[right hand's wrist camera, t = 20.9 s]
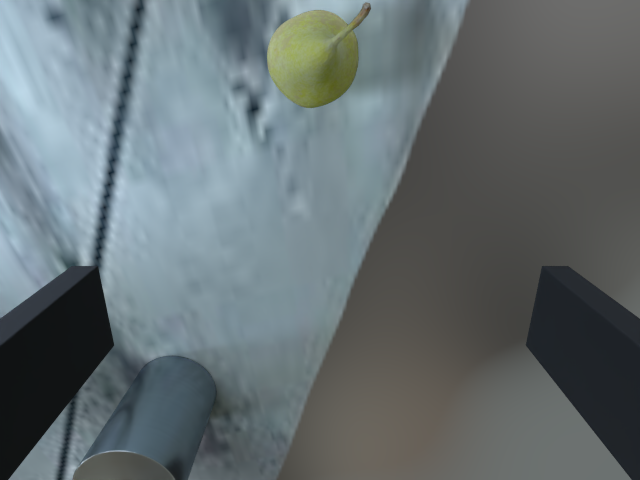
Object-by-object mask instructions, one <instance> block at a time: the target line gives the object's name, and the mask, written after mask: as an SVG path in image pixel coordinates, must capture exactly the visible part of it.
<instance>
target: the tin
mask: <svg viewBox="0 0 640 480" xmlns="http://www.w3.org/2000/svg"><path fill="white" fill-rule="evenodd" d="M215 399H216V386H215V383H214V380H213V378H212V376H211V375H210V374H209V372H208V371H207V370H206V369H205V368H204V367H203V366H201V365H200V364H198V363H197V362H195V361H193V360H190V359H188V358H184V357H180V356H164V357H160V358H156V359H154V360H152V361H150V362H149V363H147V364H146V365H145V366H144V367H143V368H142V369H141V371H140V372H139V374H138V375H137V377H136V378H135V380H134V381H133V383H132V384H131V386H130V388H129V389H128V391H127V392H126V394H125V395H124V397H123V398H122V400H121V401H120V403H119V404H118V406H117V407H116V409H115V411H114V412H113V414H112V415H111V417H110V418H109V420H108V421H107V423H106V424H105V426H104V427H103V429H102V431H101V432H100V434H99V435H98V437H97V438H96V440H95V441H94V443H93V444H92V446H91V447H90V449H89V451H88V452H87V454H86V455H85V457H84V458H83V460H82V461H81V463H80V464H79V466H78V467H77V469H76V471H75V473H74V475H73V479H72V480H188V478H189V475H190V472H191V469H192V466H193V463H194V460H195V457H196V454H197V452H198V449H199V446H200V443H201V440H202V437H203V434H204V431H205V428H206V425H207V422H208V420H209V417H210V414H211V411H212V408H213V405H214V402H215Z"/></svg>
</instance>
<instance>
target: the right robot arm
mask: <svg viewBox="0 0 640 480" xmlns="http://www.w3.org/2000/svg"><path fill="white" fill-rule="evenodd" d="M113 346H114V342H113V337H112V332H111V328H110V323H109V318H108V313H107V308H106V303H105V298H104V294H103V289H102V284H101V279H100V274H99V269H98V266H72V267H70V268H69V269H67V270H66V271H65V272H63V273H62V274H61V275H59V276H58V277H57V278H55V279H54V280H52V281H51V282H50V283H48V284H47V285H46V286H44V287H43V288H42V289H40V290H39V291H37V292H36V293H35V294H33V295H32V296H31V297H29V298H28V299H27V300H25V301H24V302H22V303H21V304H20V305H18V306H17V307H16V308H14V309H13V310H12V311H10V312H9V313H7V314H6V315H5V316H3V317H2V318H1V319H0V480H8V479H9V478H10V477H11V475H12V474H13V473H14V472H15V470H16V469H17V468H18V467H19V465H20V464H21V463H22V461H23V460H24V459H25V458H26V456H27V455H28V454H29V453H30V451H31V450H32V449H33V448H34V446H35V445H36V444H37V442H38V441H39V440H40V439H41V437H42V436H43V435H44V434H45V432H46V431H47V430H48V428H49V427H50V426H51V425H52V423H53V422H54V421H55V420H56V418H57V417H58V416H59V415H60V413H61V412H62V411H63V409H64V408H65V407H66V406H67V404H68V403H69V402H70V401H71V399H72V398H73V397H74V396H75V394H76V393H77V392H78V390H79V389H80V388H81V387H82V385H83V384H84V383H85V382H86V380H87V379H88V378H89V376H90V375H91V374H92V373H93V371H94V370H95V369H96V368H97V366H98V365H99V364H100V363H101V361H102V360H103V359H104V357H105V356H106V355H107V354H108V352H109V351H110V350H111V349H112V347H113ZM526 346H527V347H528V348H529V350H530V351H531V352H532V354H533V355H534V356H535V357H536V359H537V360H538V361H539V363H540V364H541V365H542V366H543V368H544V369H545V370H546V371H547V373H548V374H549V375H550V376H551V378H552V379H553V380H554V382H555V383H556V384H557V385H558V386H559V388H560V389H561V390H562V392H563V393H564V394H565V396H566V397H567V398H568V399H569V401H570V402H571V403H572V404H573V406H574V407H575V408H576V409H577V411H578V412H579V413H580V415H581V416H582V417H583V418H584V420H585V421H586V422H587V423H588V425H589V426H590V427H591V428H592V430H593V431H594V432H595V434H596V435H597V436H598V437H599V439H600V440H601V441H602V442H603V444H604V445H605V446H606V448H607V449H608V450H609V451H610V453H611V454H612V455H613V456H614V458H615V459H616V460H617V461H618V463H619V464H620V465H621V467H622V468H623V469H624V470H625V472H626V473H627V474H628V475H629V477H630V478H631V479H632V480H640V319H639V318H638V317H637V316H635V315H634V314H633V313H631V312H630V311H628V310H627V309H626V308H624V307H623V306H622V305H620V304H619V303H618V302H616V301H615V300H613V299H612V298H611V297H609V296H608V295H607V294H605V293H604V292H602V291H601V290H600V289H598V288H597V287H596V286H594V285H593V284H592V283H590V282H589V281H588V280H586V279H585V278H583V277H582V276H581V275H579V274H578V273H577V272H575V271H574V270H572V269H571V268H570V267H568V266H542V269H541V274H540V279H539V284H538V289H537V294H536V298H535V303H534V308H533V313H532V318H531V323H530V328H529V332H528V337H527V342H526Z"/></svg>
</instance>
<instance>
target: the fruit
mask: <svg viewBox="0 0 640 480" xmlns="http://www.w3.org/2000/svg"><path fill="white" fill-rule="evenodd" d="M370 9H371V7H370V3H364V4H363V7H362V9H361V11H360V13H359V14H358V16H357V17H356V18H355V19H354V20H353V21H352V22H351V23H350V24H349V25H348V24H347V23H346V22H345V21H344V20H343V19H341V18H340V17H339V16H337V15H336V14H334V13H331V12H328V11H324V10H314V11H308V12H305V13H302V14H300V15H297V16H295V17H293V18H291V19H289V20H288V21H286V22H285V23H283V24H282V25H281V26H279V28H278V29H277V30H276V31H275V33H274V34H273V36H272V38H271V40H270V43H269V46H268V52H267V63H268V69H269V72H270V75H271V78H272V80H273V81H274V83H275V84H276V86H277V87H278V88H279V90H280V91H281V92H282V93H283V94H284V95H285V96H286V97H287V98H288V99H290V100H291V101H292V102H294V103H296V104H298V105H299V106H302V107H306V108H314V107H319V106H323V105H325V104H328V103H330V102H332V101H334V100H336V99H337V98H339V97H340V96H341V95H342V94H344V93H345V92H346V91H347V89H348V88H349V87H350V85H351V84H352V82H353V80H354V77H355V74H356V71H357V67H358V42H357V38H356V36H355V34H354V32H353V29H354V28H356V27H357V26H359V24H360V23H361V22H362V21H363V20H364V18H366V16H367V15H368V13H369V11H370Z"/></svg>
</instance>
